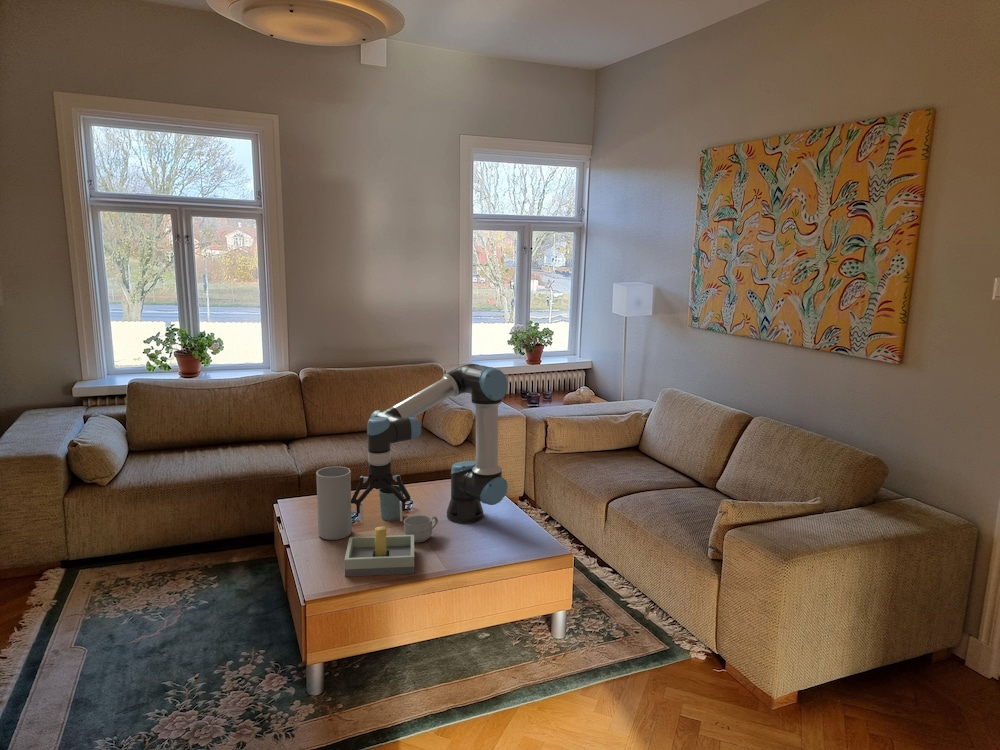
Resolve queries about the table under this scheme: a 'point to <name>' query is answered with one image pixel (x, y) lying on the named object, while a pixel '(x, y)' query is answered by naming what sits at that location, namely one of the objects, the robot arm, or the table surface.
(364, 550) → the box
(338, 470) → the cylinder vase
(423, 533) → the teacup
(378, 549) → the peg
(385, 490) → the grey-green cup
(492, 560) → the table surface
